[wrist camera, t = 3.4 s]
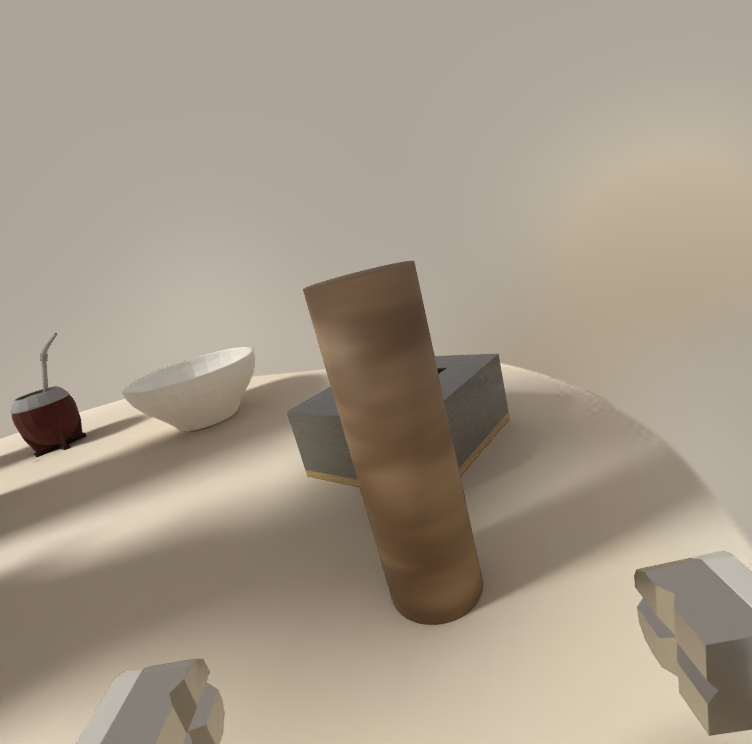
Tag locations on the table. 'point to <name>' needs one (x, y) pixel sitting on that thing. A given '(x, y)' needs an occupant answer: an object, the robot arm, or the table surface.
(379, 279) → the walnut pin
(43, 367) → the mate gourd
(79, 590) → the table surface
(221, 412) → the bowl
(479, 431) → the socket block
